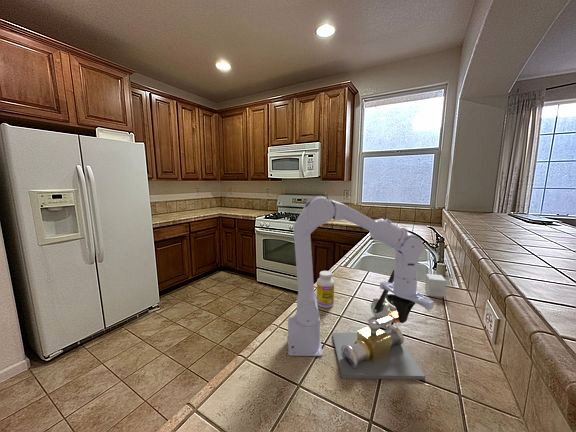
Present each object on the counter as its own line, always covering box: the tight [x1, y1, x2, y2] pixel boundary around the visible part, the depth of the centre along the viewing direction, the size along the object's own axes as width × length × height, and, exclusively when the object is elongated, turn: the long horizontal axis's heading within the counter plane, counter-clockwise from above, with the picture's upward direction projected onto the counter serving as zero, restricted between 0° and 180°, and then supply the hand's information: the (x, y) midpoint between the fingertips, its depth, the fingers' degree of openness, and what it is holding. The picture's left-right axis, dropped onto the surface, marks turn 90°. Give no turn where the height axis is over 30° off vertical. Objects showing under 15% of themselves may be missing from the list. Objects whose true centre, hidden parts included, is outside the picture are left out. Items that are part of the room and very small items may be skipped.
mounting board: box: [332, 332, 426, 381], centre depth 65 cm, size 20×16×1 cm
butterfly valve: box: [370, 269, 397, 320], centre depth 83 cm, size 9×20×17 cm
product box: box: [424, 273, 447, 298], centre depth 99 cm, size 6×6×7 cm
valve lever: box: [367, 311, 400, 331], centre depth 66 cm, size 13×3×2 cm, turn 117°
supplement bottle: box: [316, 270, 335, 309], centre depth 91 cm, size 7×7×13 cm
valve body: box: [341, 324, 405, 369], centre depth 65 cm, size 18×6×8 cm, turn 118°
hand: (402, 321), depth 66 cm, fingers closed
